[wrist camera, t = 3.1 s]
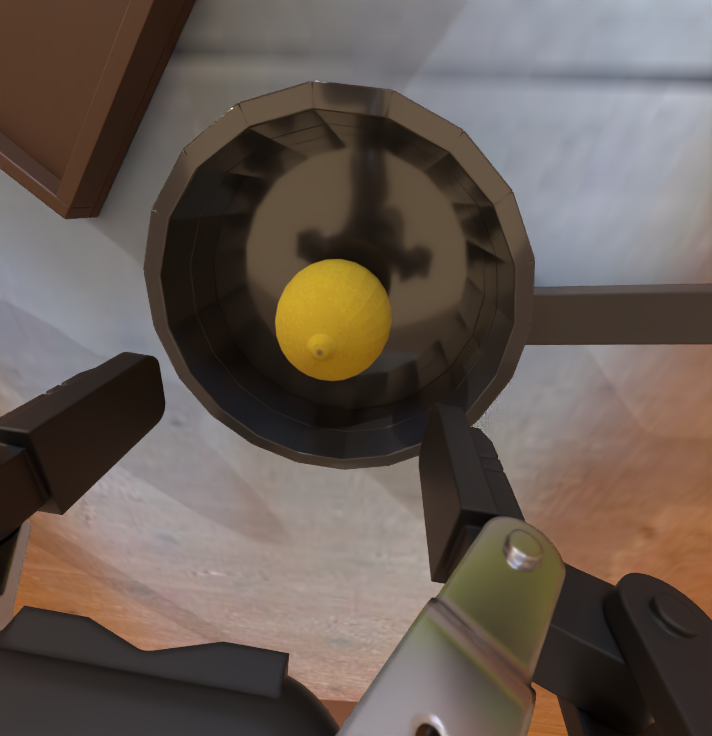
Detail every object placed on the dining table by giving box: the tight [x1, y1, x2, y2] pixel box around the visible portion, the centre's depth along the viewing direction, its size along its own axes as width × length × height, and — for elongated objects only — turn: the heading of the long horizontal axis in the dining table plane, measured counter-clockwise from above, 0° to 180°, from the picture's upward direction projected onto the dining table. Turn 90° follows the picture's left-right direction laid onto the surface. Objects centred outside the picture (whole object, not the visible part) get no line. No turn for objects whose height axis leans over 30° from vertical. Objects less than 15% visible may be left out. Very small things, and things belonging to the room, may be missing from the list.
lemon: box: [275, 259, 392, 381], centre depth 16 cm, size 6×6×8 cm
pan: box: [144, 80, 535, 470], centre depth 18 cm, size 18×18×6 cm
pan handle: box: [525, 284, 712, 345], centre depth 15 cm, size 11×2×1 cm, turn 92°
